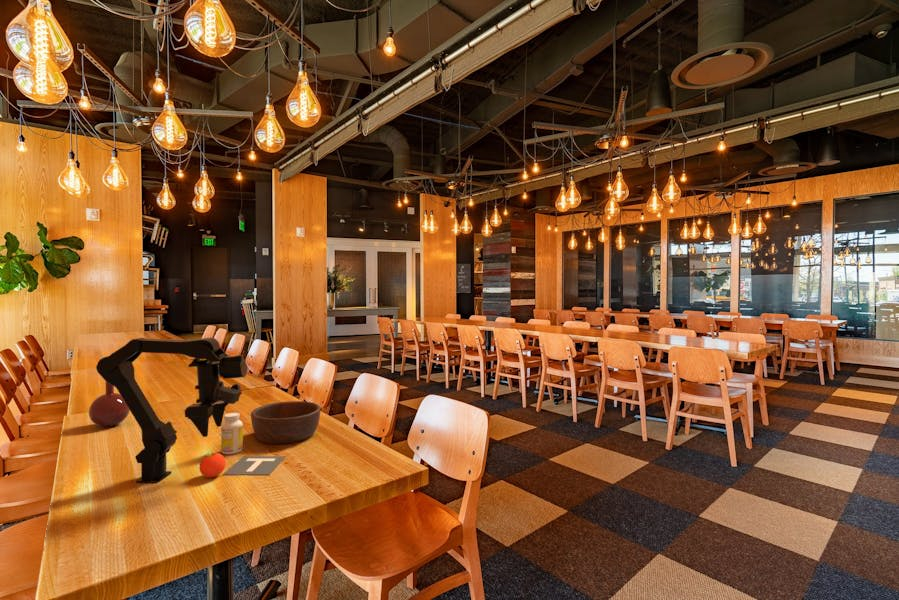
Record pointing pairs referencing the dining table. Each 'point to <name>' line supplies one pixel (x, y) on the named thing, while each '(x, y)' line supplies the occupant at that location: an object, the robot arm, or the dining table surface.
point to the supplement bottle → (232, 434)
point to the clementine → (212, 464)
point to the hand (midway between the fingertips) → (212, 431)
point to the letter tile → (255, 465)
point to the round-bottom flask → (108, 408)
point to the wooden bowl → (285, 421)
